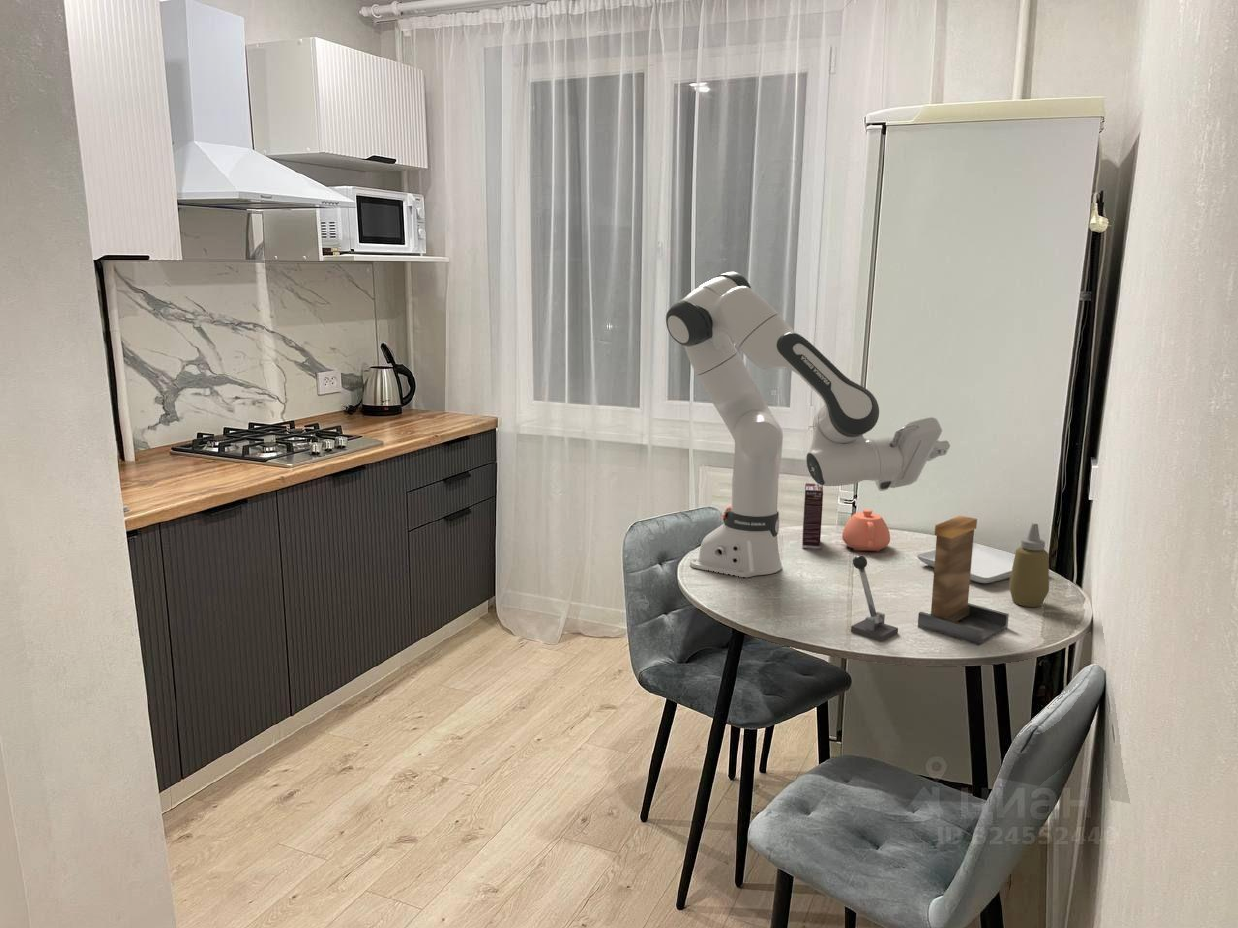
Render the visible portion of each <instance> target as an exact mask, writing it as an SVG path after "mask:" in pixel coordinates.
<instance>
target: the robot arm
mask: <svg viewBox="0 0 1238 928" xmlns="http://www.w3.org/2000/svg"><path fill="white" fill-rule="evenodd" d="M665 324H666V328H667V331H668V333H669V335H670V336H671V337H672V339H673V340H674V341H675V342H677V343H678V344H680V345H682V346H683V347H684V351H685V354H686V355H687V358H688V360H689V362H690V365H691V366H692V369H693V370H694V373H695V374H696V376H697V378H698V380H699V381H700V383H701V385H702V386H703V389H704V391H705V392H706V393H707V395H708V397H709V399H710V400H711V403H712V405H714V407H715V409H716V411H717V413H718V414H719V416H720V418H721V419H722V420H723V423H724V424H725V426H726V427H727V430H728V431H729V433H730V434H731V436H732V438H733V440H734V455H733V456H734V458H733V471H732V480H731V482H732V483H731V506H728V507H727V508H726V509H725V511H724V512H723V514H722V521H723V524H721V525H719V526H718V527H717V528H715V529H713V530H712V531H711V532H709V533H708V534H706V536H705V537H704V538H703V540H702V541H701V544H700V548H699V550H698V552H696V553H694V554H693V555H692V557H691V558H690V563H689V565H690V567H691V568H694V569H698V570H704V571H708V570H709V571H708V572H713V571H714V573H718V572H719V573H718V574H723V573H724V575H728V574H730V575H729V576H733V575H735V576H734V577H738V576H739V577H738V578H743V577H745V578H750V577H755V576H763V575H764V576H765V575H770V574H774V573H777V572H780V571H781V570H782V569H783V566H782V562H781V556H780V553H779V544H778V534H779V530H780V513H779V511H778V501H779V500H778V499H779V498H778V496H779V479H780V478H779V476H780V470H781V462H782V452H783V451H782V450H783V438H784V435H783V429H782V428H781V425H780V424H779V423H778V421H777V420H776V418H775V416H774V415H773V414H772V412H771V410H770V408H769V406H768V404H767V403H766V401H765V399H764V397H763V395H762V393H761V391H760V389H759V388H758V386H757V383H756V382H755V380H754V379H753V377H752V375H751V373H750V372H749V370H748V368H747V366H746V364H745V362H744V361H743V358H742V357H741V355H740V353H739V352H738V350H737V348H738V349H739V350H740V351H741V352H742V354H744V356H745V357H746V358H747V359H748V360H749V361H751V362H752V363H753V364H754V365H755V366H757V367H758V368H760V369H763V370H771V371H772V370H773V371H774V370H780V369H785V370H789V371H792V372H793V373H795V374H796V375H798V376H799V377H800V378H801V379H802V380H803V381H804V382H805V383H806V384H807V385H808V386H809V387H810V388H811V389H812V390H813V392H815V393H816V394H817V395H818V396H819V397H820V398H821V400H822V401H823V403H824V405H823V406H822V407H821V408H820V410H818V412H817V413H816V415H815V416H814V419H813V422H812V430H813V434H812V442H811V444H810V449H809V451H808V452H807V454H806V457H805V458H806V467H807V470H808V473H809V475H810V477H811V478H812V480H814V481H815V482H816V484H820V485H823V487H840V486H849V485H855V484H858V483H861V482H863V481H870V482H871V481H873V482H875V485H876V486H877V489H878V491H880V492H881V491H883V492H885V491H887V490H889V489H890V488H891V489H894V488H900V487H907V486H910V485H912V484H914V483H916V482H917V481H918V479H919V477H920V476H921V474H922V471H923V469H924V468H925V466H926V464H927V462H930V461H932V460H935V459H936V458H939V457H942V456H946V455H947V453H948V451H949V449H950V448H951V445H950V442H949V441H948V440H941V441H940V440H939V438H940V436H941V434H942V432H943V429H942V427H941V424H940V422H939V421H938V419H937V418H936V417H932V416H931V417H925V418H921V419H917V420H913V421H910V422H908V423H905V424H903V425H902V426H901V427H900V429H898V430H896V431H895V432H894V435H893V436H891V435H886V436H878V437H872V438H865V437H864V434H866V433H868V432H870V431H871V430H872V429H873V428H875V426H876V425H877V422H878V420H879V416H880V407H879V403H878V401H877V398H876V396H875V395H874V394H873V393H872V392H871V391H870V390H869V389H867V388H865V387H864V386H862V385H860V384H858V383H856V382H854V381H853V380H851V379H850V378H848V377H847V376H846V375H845V374H843V373H842V372H841V370H839V369H838V367H837V366H835V364H833V363H832V362H831V361H830V360H829V359H828V358H827V357H826V356H825V355H824V354H823V353H822V352H821V351H820V350H819V349H817V348H816V346H815V345H813V344H812V343H811V342H810V341H809V340H808V339H806V338H805V337H804V336H802V335H801V334H799V333H798V332H796V331H795V330H794V329H793V328H792V326H790V325H789V324H788V322H786V320H784V318H783V317H782V316H781V315H780V314H779V313H778V311H777V310H776V309H775V308H774V307H772V305H771V304H769V303H768V301H766V299H764V298H763V296H761V295H759V294H758V293H757V292H756V291H754V290H753V289H752V288H751V285H750V283H749V281H748V280H747V279H746V278H745V277H744V276H743V275H742V274H740V273H738V272H735V271H728V272H725V273H721V274H719V275H717V276H716V277H714V278H712V279H711V280H709V281H706V282H704V283H703V284H700V285H699V286H698V287H696V288H695V289H694V290H692V291H691V292H690V293H688V294H687V295H685V297H683V298H682V299H681V300H677V301H676V302H675V303H674V304H672V306H671V307H670V308H669V309H668V311H667V313H666V316H665ZM734 344H735V345H736V346H737V348H736V346H735V345H734Z"/></svg>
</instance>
